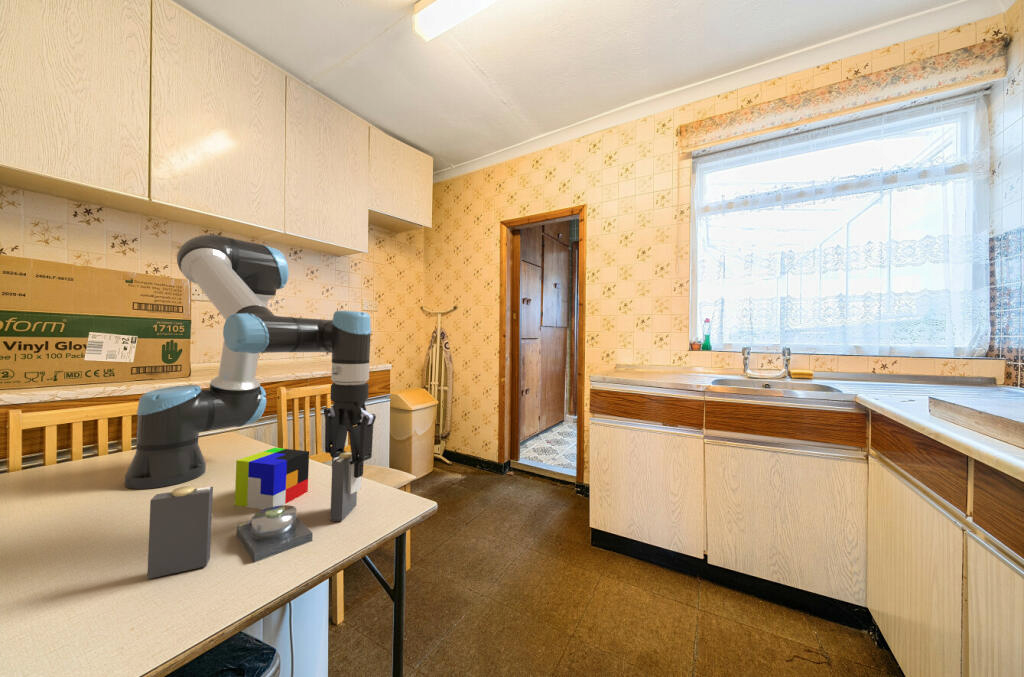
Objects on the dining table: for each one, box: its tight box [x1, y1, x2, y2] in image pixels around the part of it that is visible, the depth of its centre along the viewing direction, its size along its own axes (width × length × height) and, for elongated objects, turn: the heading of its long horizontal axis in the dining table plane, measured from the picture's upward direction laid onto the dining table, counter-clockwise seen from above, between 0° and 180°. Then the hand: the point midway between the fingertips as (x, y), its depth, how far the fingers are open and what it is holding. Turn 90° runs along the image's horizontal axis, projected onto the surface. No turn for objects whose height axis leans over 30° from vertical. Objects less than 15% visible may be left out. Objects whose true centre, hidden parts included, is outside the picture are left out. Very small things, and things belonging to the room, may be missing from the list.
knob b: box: [329, 451, 358, 522], centre depth 77 cm, size 7×3×13 cm, turn 1°
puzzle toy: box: [234, 447, 310, 510], centre depth 83 cm, size 10×10×10 cm
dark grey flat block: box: [146, 485, 214, 580], centre depth 57 cm, size 7×3×13 cm, turn 119°
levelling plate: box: [235, 504, 313, 563], centre depth 67 cm, size 12×9×5 cm
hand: (346, 488), depth 78 cm, fingers closed on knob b, 4 cm apart
